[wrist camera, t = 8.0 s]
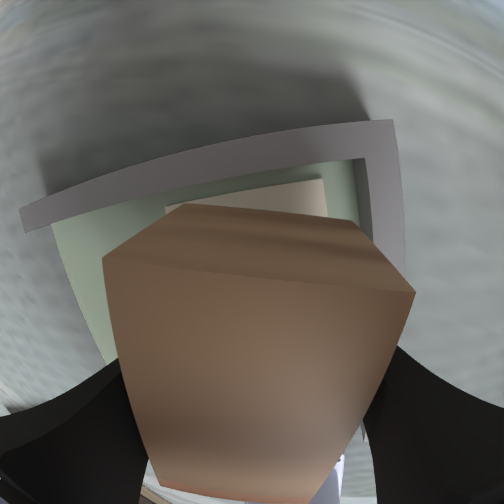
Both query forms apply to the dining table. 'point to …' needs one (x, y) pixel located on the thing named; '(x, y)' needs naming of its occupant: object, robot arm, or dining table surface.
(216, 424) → the walnut block
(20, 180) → the dining table surface
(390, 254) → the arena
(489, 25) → the dining table surface
